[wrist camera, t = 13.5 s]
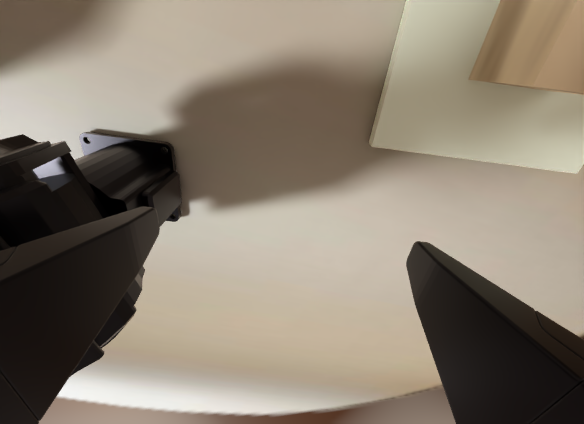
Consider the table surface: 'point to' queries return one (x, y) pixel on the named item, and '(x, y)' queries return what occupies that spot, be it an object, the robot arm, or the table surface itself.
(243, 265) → the table surface
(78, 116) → the table surface
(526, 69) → the maple cube
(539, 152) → the sage board
